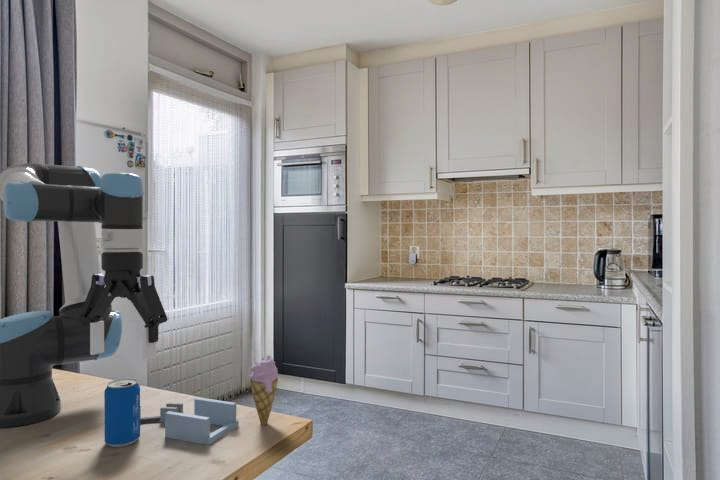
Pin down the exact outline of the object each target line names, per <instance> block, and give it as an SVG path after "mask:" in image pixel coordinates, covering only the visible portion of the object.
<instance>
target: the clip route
mask: <svg viewBox="0 0 720 480" xmlns="http://www.w3.org/2000/svg"><path fill="white" fill-rule="evenodd" d="M159 409H160V410H159V411H160V412H159V415H157V416H146V417H145V416H144V417H141V416H142V414H141V413H142V412H141V405H140V424H146V423H147V424H148V423H156V422H157V423H158V422H160V423H164V424H165V413H166V412H168V411H172V412H178V413H184V403H183V402H167V403H166V405H165V406H161V407H160V408H159Z"/></svg>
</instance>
